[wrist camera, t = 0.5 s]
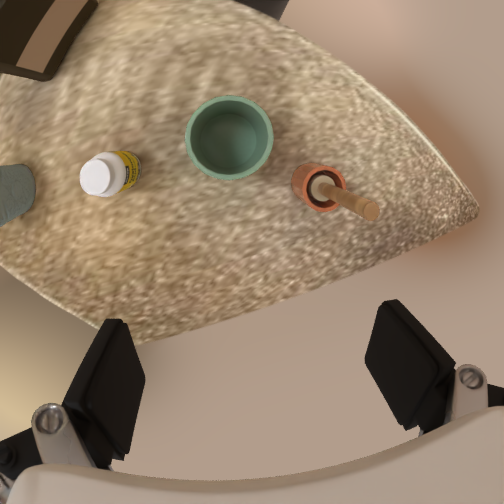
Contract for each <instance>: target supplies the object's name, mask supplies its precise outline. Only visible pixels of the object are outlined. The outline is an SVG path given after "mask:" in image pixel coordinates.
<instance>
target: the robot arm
mask: <svg viewBox="0 0 504 504" xmlns="http://www.w3.org/2000/svg"><path fill="white" fill-rule="evenodd" d="M365 364H366V366H367V368H368V370H369V371H370V373H371V375H372V377H373V378H374V380H375V382H376V383H377V385H378V387H379V389H380V391H381V393H382V394H383V396H384V398H385V400H386V401H387V403H388V405H389V407H390V409H391V411H392V412H393V414H394V416H395V418H396V419H397V422H398V423H399V424H400V425H403V427H404V429H405V430H406V431H407V430H409V429H411V428H414V427H416V426H417V425H419V427H420V432H419V436H418V438H415V439H413V440H410V441H408V442H406V443H403V444H400V445H398V446H395V447H393V448H390V449H387V450H385V451H382V452H379V453H376V454H373V455H370V456H367V457H364V458H360V459H357V460H354V461H350V462H347V463H343V464H339V465H336V466H331V467H327V468H322V469H318V470H313V471H308V472H303V473H297V474H291V475H284V476H276V477H268V478H259V479H245V480H226V481H225V480H223V481H200V480H198V481H197V480H178V479H166V478H156V477H147V476H139V475H131V474H126V473H120V472H115V471H114V470H113V469H112V467H111V466H110V465H111V462H112V459H116V460H122V461H124V456H125V454H128V453H129V451H130V446H131V442H132V436H133V432H134V427H135V423H136V418H137V414H138V410H139V406H140V401H141V397H142V393H143V389H144V385H145V374H144V371H143V369H142V366H141V363H140V361H139V358H138V355H137V352H136V349H135V346H134V343H133V340H132V337H131V334H130V331H129V328H128V325H127V323H123V321H122V319H106V320H105V321H104V323H103V324H102V326H101V328H100V330H99V331H98V333H97V335H96V337H95V339H94V341H93V343H92V344H91V346H90V348H89V350H88V352H87V353H86V356H85V357H84V359H83V361H82V363H81V365H80V367H79V369H78V371H77V373H76V375H75V377H74V379H73V381H72V383H71V385H70V387H69V389H68V391H67V393H66V395H65V398H64V400H63V402H62V405H58V404H56V403H48V404H44V405H42V406H40V407H39V408H38V409H37V410H36V411H35V412H34V414H33V416H32V420H31V423H32V427H31V428H29V429H27V430H25V431H22V432H20V433H18V434H16V435H14V436H11V437H9V438H7V439H4V440H2V441H0V504H504V388H502V387H498V386H494V385H490V384H487V379H486V376H485V374H484V372H483V371H482V370H481V369H480V368H478V367H476V366H473V365H470V364H465V365H461V366H460V367H458V369H457V370H455V369H454V366H455V364H456V362H455V361H454V360H453V359H452V358H451V357H450V355H449V354H448V353H447V352H446V351H445V350H444V348H443V347H442V346H441V345H440V344H439V343H438V342H437V341H436V340H435V338H434V337H433V336H432V335H431V334H430V333H429V332H428V331H427V330H426V329H425V328H424V326H423V325H421V323H420V322H419V321H418V320H417V319H416V318H415V317H414V316H413V315H412V314H411V313H410V312H409V311H408V309H407V308H405V306H404V305H403V304H402V303H401V302H400V301H399V300H397V299H394V300H389V301H384V302H383V303H382V305H380V306H379V308H378V311H377V315H376V319H375V323H374V327H373V330H372V334H371V338H370V341H369V344H368V348H367V351H366V354H365Z"/></svg>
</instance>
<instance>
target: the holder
mask: <svg viewBox="0 0 504 504" xmlns="http://www.w3.org/2000/svg"><path fill="white" fill-rule="evenodd" d="M315 173H319V174H322V175H325V176H328V177H330V178H331V179H332V180H333V181H334V183H335V186H336V187H339V188H341V189H344V190H346V184H345V180H344V178H343V176H342V175H341V173H340V172H339V171H337V170H336V169H335V168H333V167H329V166H324V165H320V164H315V163H306V164H303V165H301V166H299V167H298V168H297V169H296V170H295V172H294V173H293V176H292V179H291V187H292V190H293V192H294V194H295V195H296V196H297V198H298V199H300V200H301V201H303V202H304V203H305V204H307V205H308V206H310V207H311V208H313V209H314V210H316V211H320V212H327V211H331V210H334V209H335V208H336V207H338V206H339V205H340V204H338V203H336V202H334V201H332V200H330V199H329V200H327V201H319V200H317V199H315V198H313V197H312V196H310V195H308V194H307V191H306V188H307V183H308V181H309V179H310V178H311V176H312V175H313V174H315Z"/></svg>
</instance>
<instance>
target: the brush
mask: <svg viewBox="0 0 504 504" xmlns="http://www.w3.org/2000/svg"><path fill="white" fill-rule="evenodd" d="M306 191H307V194H308V195H310V196H312V197H313V198H315V199H317V200H319V201H327V200H329V199H330V200H332V201H334V202H336V203H338V204H340V205H342V206H343V207H345V208H347V209H349V210H351V211H352V212H354V213H356V214H358V215H359V216H361V217H363V218H365V219H366V220H368V221H373V220H375V219H376V218H377V217H378V215H379V206H378V205H377V204H376V203H375V202H372V201H370V200H368V199H365V198H363V197H361V196H358V195H356V194H354V193H351V192H349V191H346V190H344V189H341V188H339V187H336V186H335V183H334V181H333V180H332V179H331V178H330V177H328V176H325V175H322V174H319V173H315V174H313V175H312V176H311V178H310V179H309V181H308V183H307V188H306Z"/></svg>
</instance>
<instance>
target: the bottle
mask: <svg viewBox="0 0 504 504" xmlns="http://www.w3.org/2000/svg"><path fill="white" fill-rule="evenodd" d="M97 5H98V2H97V1H96V0H0V73H5V74H10V75H15V76H20V77H24V78H29V79H33V80H37V81H41V82H42V81H47V80H51V78H52V77H53V75H54V73H55V71H56V69H57V67H58V65H59V64H60V62H61V60H62V58H63V56H64V55H65V53H66V51H67V49H68V48H69V46H70V44H71V43H72V41H73V40H74V38H75V36H76V35H77V33H78V32H79V30H80V29H81V27H82V26H83V24H84V23H85V21H86V20H87V19H88V17H89V16H90V14H91V13H92V12H93V10H94V9H95V8H96V6H97Z"/></svg>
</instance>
